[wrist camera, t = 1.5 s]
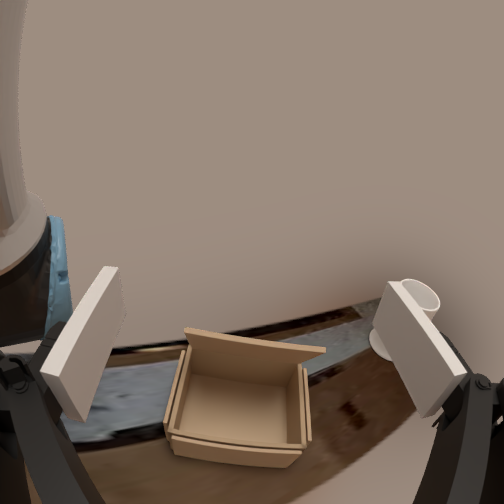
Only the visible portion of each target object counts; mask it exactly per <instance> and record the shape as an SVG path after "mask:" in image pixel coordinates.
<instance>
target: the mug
mask: <svg viewBox="0 0 504 504" xmlns="http://www.w3.org/2000/svg"><path fill="white" fill-rule="evenodd" d="M400 283H401V284H402V285H403V287H404V288H405V289H406V290H407V291H408V293H409V294H410V295H411V296H412V298H413V299H414V300H415V301H416V303H417V304H418V305H419V306H420V308H421V309H422V310H423V312H424V313H425V314H426V315H427V317H428V318H429V319H430V321H431V320H432V318H433V317H434V315H435V314H436V312H437V311H438V309H439V307H440V300H439V298H438V296H437V295H436V293H435V292H434V291H433V290H431V288H429V287H428V286H427V285H425V284H423V283H421V282H419V281H416V280H413V279H405V280H402V281H401V282H400ZM369 341H370V344H371V347H372V348H373V350H374V351H375V352H376V353H377V354H378V355H379V356H381V357H382V358H384V359H386V360H389V361H392V359H391V357H390V355H389V353H388V352H387V350H386V348H385V346H384V344H383V342H382V341H381V339H380V337H379V335H378V333H377V332H376V330H375V328H374V329H373V330H372V331H371V333H370V335H369Z"/></svg>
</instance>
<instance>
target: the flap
mask: <svg viewBox="0 0 504 504" xmlns="http://www.w3.org/2000/svg"><path fill="white" fill-rule="evenodd" d="M184 333H185V335H186V337H187V339H188V341H189V343H190V345H191V347H192V348H193V349H198V350H204V351H209V352H215V353H221V354H227V355H233V356H240V357H246V358H253V359H261V360H269V361H277V362H286V363H295V364H299V363H302V362H304V361H307V360H309V359H312V358H314V357H316V356H319V355H321V354H324V353H326V347H316V346H307V345H298V344H289V343H281V342H273V341H266V340H259V339H252V338H245V337H239V336H233V335H227V334H221V333H215V332H209V331H204V330H198V329H193V328H187V327H185V330H184Z"/></svg>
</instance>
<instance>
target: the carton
mask: <svg viewBox="0 0 504 504" xmlns="http://www.w3.org/2000/svg"><path fill="white" fill-rule="evenodd" d="M163 424H164V429H165V433H166V438H167V441H169V442H170V447H171V449H173V451H174V454H175V455H179V456H184V457H189V458H195V459H200V460H206V461H213V462H220V463H228V464H236V465H246V466H258V467H274V468H287V467H288V466H289V465H290V464H291V463H293V462H294V461H295V460H296V459H297V458H298V457H299V456H300V455H301V454H302V452H303V451H304V450H305V449H306V446H307V445H308V444H309V443H310V442H311V441H312V438H311V421H310V407H309V393H308V380H307V369H306V368H303V370H302V365H301V363H299V364H295V363H286V362H277V361H269V360H261V359H253V358H246V357H240V356H233V355H227V354H221V353H215V352H209V351H204V350H198V349H193V348H192V347H191V345H189V346H188V350H187V354H186V358H185V351H184V350H182V352H181V356H180V359H179V363H178V367H177V371H176V374H175V378H174V382H173V386H172V389H171V393H170V397H169V401H168V405H167V409H166V413H165V417H164V421H163Z"/></svg>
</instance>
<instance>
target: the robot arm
mask: <svg viewBox="0 0 504 504" xmlns="http://www.w3.org/2000/svg"><path fill="white" fill-rule="evenodd" d="M27 3H28V0H0V347H5V346H10V345H15V344H20V343H26V342H31V341H36V340H43V341H42V342H41V344H40V346H39V347H38V349H37V350H36V352H35V354H34V356H33V357H32V359H31V361H30V363H29V364H28V365H27V364H26V362H25V360H24V359H23V358H22V357H21V356H18V355H10V356H7V357H6V356H5V355H4V354H3V352H2V351H1V350H0V504H31V500H30V495H29V490H28V485H27V479H26V472H25V465H24V460H25V463H26V465H27V468H28V471H29V473H30V476H31V478H32V481H33V483H34V486H35V488H36V490H37V492H38V495H39V497H40V499H41V501H42V503H43V504H106V503H105V502H104V500H103V499H102V497H101V495H100V494H99V492H98V491H97V489H96V487H95V486H94V484H93V482H92V480H91V479H90V477H89V475H88V473H87V472H86V470H85V468H84V466H83V464H82V462H81V460H80V459H79V457H78V455H77V453H76V451H75V449H74V447H73V444H72V442H71V440H70V438H69V436H68V434H67V431H66V429H65V427H64V425H63V422H62V421H61V419H60V416H61V413H62V410H63V411H64V413H65V415H66V416H67V418H69V419H72V420H76V421H79V422H83V423H86V419H87V416H88V413H89V410H90V407H91V404H92V401H93V398H94V395H95V393H96V390H97V387H98V384H99V381H100V379H101V376H102V373H103V371H104V368H105V365H106V363H107V360H108V357H109V355H110V352H111V350H112V347H113V345H114V342H115V340H116V337H117V335H118V333H119V330H120V328H121V325H122V323H123V321H124V318H125V316H126V310H125V305H124V299H123V293H122V286H121V280H120V272H119V267H107V266H104V267H103V269H102V270H101V272H100V273H99V275H98V276H97V277H96V279H95V280H94V282H93V283H92V285H91V286H90V288H89V289H88V291H87V292H86V294H85V295H84V297H83V299H82V300H81V302H80V303H79V305H78V306H77V308H76V309H75V311H74V312H73V309H72V301H71V293H70V285H69V278H68V269H67V256H66V244H65V234H64V225H63V220H62V219H61V218H60V217H54V216H51V215H50V216H47V214H46V210H45V207H44V204H43V202H42V200H41V199H40V198H39V197H38V196H37V195H36V194H34V193H33V192H31V191H29V190H26V189H25V182H24V176H23V169H22V161H21V151H20V139H19V123H18V74H19V58H20V48H21V39H22V32H23V25H24V18H25V13H26V8H27ZM372 324H373V326H374V328H375V330H376V332H377V333H378V335H379V337H380V339H381V341H382V342H383V344H384V346H385V348H386V350H387V352H388V353H389V355H390V357H391V359H392V361H393V363H394V365H395V367H396V368H397V370H398V372H399V374H400V376H401V378H402V380H403V382H404V384H405V386H406V388H407V390H408V392H409V394H410V396H411V398H412V400H413V402H414V404H415V406H416V408H417V410H418V412H419V414H420V416H421V418H426V417H429V416H432V415H434V414H435V413H436V412H437V411H438V410H439V409H440V407H441V406H442V408H443V410H444V412H443V413H442V414H441V415H440V417H439V418H438V419H437V420H436V421H435V422H434V423H433V425H432V427H434V426H435V425H436V424H437V423H438V422H439V424H438V427H437V432H436V437H435V440H434V444H433V447H432V450H431V454H430V457H429V461H428V463H427V467H426V470H425V472H424V476H423V478H422V481H421V484H420V486H419V489H418V491H417V494H416V496H415V499H414V501H413V504H504V378H503V379H502V381H501V382H500V383H491V382H490V380H489V379H488V378H487V377H486V376H484V375H482V374H474V373H473V372H472V371H471V369H470V368H469V366H468V365H467V363H466V362H465V360H464V359H463V358H462V356H461V355H460V353H458V351H457V349H456V348H455V347H454V345H453V344H452V342H451V341H450V340H449V338H448V337H446V336H445V335H444V334H443V333H441V332H439V331H438V330H437V329H436V327H435V326H434V325H433V324H432V322H431V321H430V319H429V318H428V317H427V315H426V314H425V313H424V312H423V310H422V309H421V308H420V306H419V305H418V304H417V303H416V301H415V300H414V299H413V298H412V296H411V295H410V294H409V293H408V291H407V290H406V289H405V288H404V287H403V285H402V284H401V283H400V282H391V281H389V282H387V285H386V288H385V291H384V294H383V296H382V299H381V301H380V304H379V307H378V309H377V312H376V314H375V317H374V319H373V322H372ZM501 416H503V421H502V422H501V423H500V424H499V425H498V424H497V420H498V419H499V418H500V417H501ZM23 457H24V458H23Z"/></svg>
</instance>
